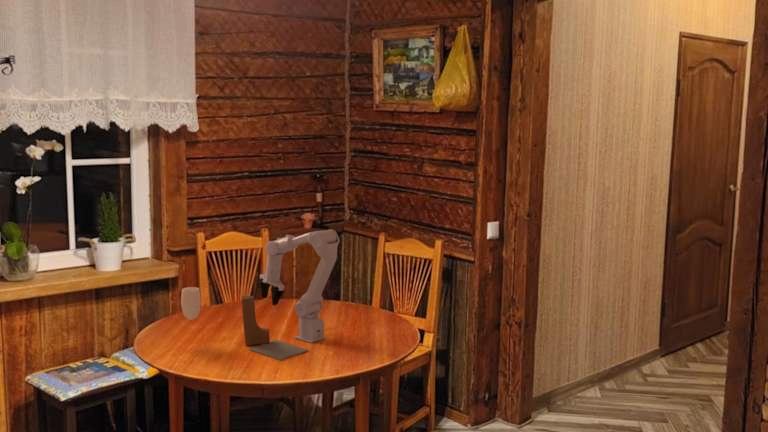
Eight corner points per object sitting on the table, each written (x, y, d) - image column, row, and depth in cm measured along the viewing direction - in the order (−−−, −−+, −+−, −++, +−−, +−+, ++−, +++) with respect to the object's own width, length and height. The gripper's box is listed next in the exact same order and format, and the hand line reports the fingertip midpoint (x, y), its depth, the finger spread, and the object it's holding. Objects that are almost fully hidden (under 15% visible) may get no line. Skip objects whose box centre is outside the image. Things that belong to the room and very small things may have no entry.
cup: (205, 340, 290) (204, 287, 287) (195, 346, 283) (194, 292, 280) (188, 338, 292) (187, 286, 289) (178, 344, 285) (176, 290, 282)
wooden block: (269, 339, 291) (265, 294, 288) (269, 343, 286) (265, 297, 283) (245, 342, 289) (241, 296, 286) (245, 345, 285) (241, 299, 282)
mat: (308, 351, 281) (308, 349, 281) (280, 360, 270) (280, 359, 270) (276, 341, 291) (276, 339, 291) (248, 349, 281) (248, 348, 281)
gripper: (254, 264, 305) (251, 296, 308) (275, 276, 295) (271, 309, 298) (269, 262, 310) (265, 294, 313) (290, 274, 299) (286, 306, 303)
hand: (269, 301), depth 306 cm, fingers open, 7 cm apart
